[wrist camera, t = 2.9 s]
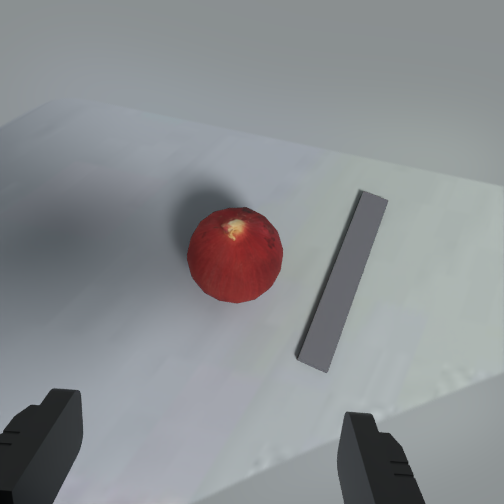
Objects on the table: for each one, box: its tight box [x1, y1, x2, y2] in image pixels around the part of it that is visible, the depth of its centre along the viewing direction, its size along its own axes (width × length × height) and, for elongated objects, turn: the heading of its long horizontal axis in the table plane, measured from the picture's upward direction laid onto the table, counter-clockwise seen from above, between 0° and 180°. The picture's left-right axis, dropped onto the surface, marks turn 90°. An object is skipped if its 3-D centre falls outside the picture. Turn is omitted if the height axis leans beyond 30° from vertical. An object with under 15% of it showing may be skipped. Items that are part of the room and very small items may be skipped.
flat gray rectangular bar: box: [297, 191, 388, 373], centre depth 30 cm, size 2×14×1 cm, turn 156°
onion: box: [187, 207, 283, 303], centre depth 26 cm, size 6×6×8 cm
